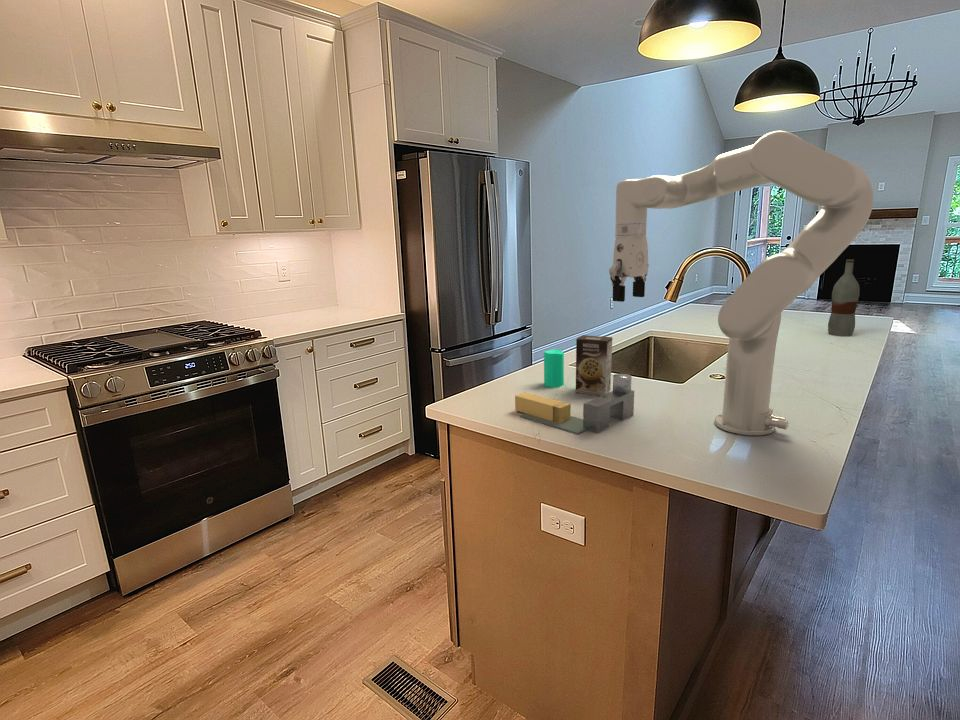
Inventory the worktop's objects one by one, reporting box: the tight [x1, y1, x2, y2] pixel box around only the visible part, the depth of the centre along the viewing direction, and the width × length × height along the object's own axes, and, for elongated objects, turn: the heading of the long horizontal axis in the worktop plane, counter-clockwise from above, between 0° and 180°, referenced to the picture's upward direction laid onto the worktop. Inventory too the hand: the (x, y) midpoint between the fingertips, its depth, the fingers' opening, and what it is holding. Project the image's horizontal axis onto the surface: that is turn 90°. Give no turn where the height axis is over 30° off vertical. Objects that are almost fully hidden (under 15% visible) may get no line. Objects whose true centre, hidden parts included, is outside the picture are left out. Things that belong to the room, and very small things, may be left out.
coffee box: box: [575, 334, 613, 396], centre depth 149 cm, size 9×6×16 cm
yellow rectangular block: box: [514, 391, 571, 424], centre depth 133 cm, size 15×4×4 cm, turn 44°
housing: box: [582, 373, 635, 434], centre depth 126 cm, size 4×16×10 cm, turn 134°
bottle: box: [827, 259, 861, 337], centre depth 207 cm, size 9×9×30 cm
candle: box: [543, 349, 565, 388], centre depth 158 cm, size 6×6×12 cm
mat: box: [520, 413, 588, 435], centre depth 129 cm, size 18×8×1 cm, turn 43°
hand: (628, 298), depth 134 cm, fingers open, 9 cm apart
